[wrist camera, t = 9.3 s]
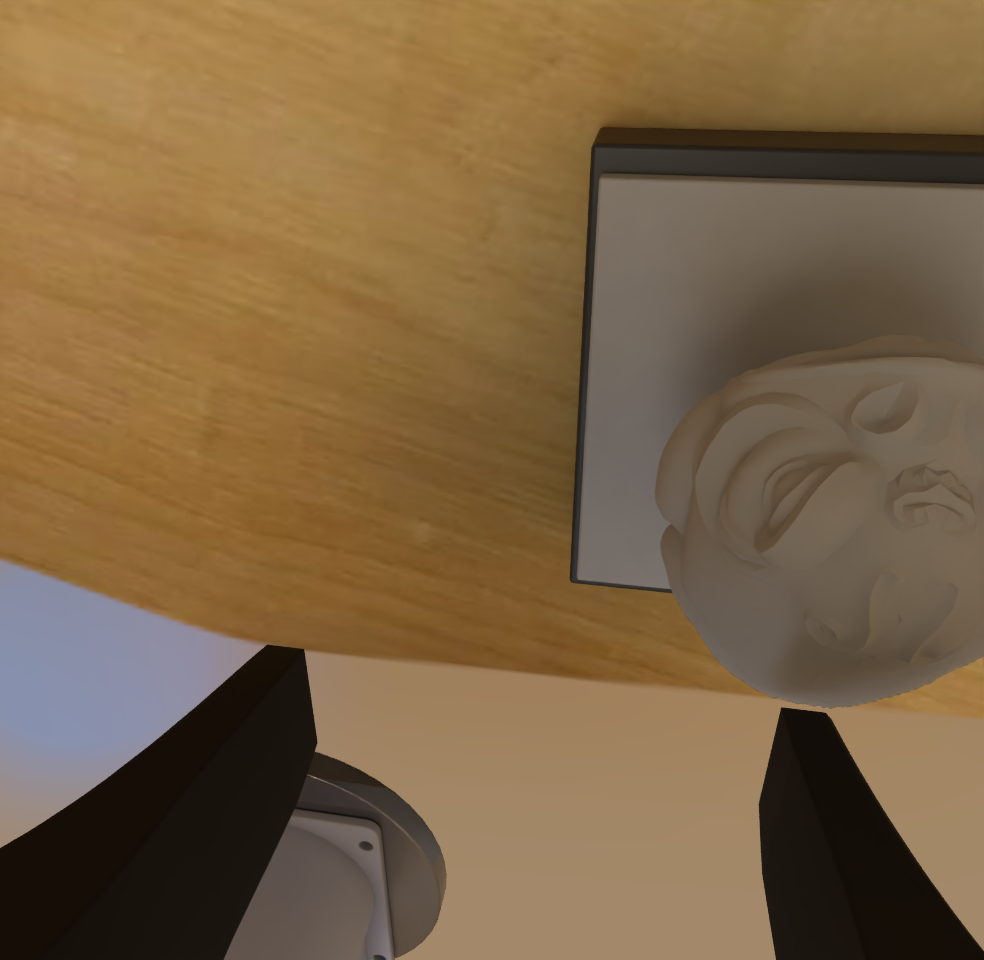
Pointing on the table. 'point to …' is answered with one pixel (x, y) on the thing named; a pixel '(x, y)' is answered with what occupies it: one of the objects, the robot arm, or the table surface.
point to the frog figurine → (833, 520)
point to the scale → (748, 289)
